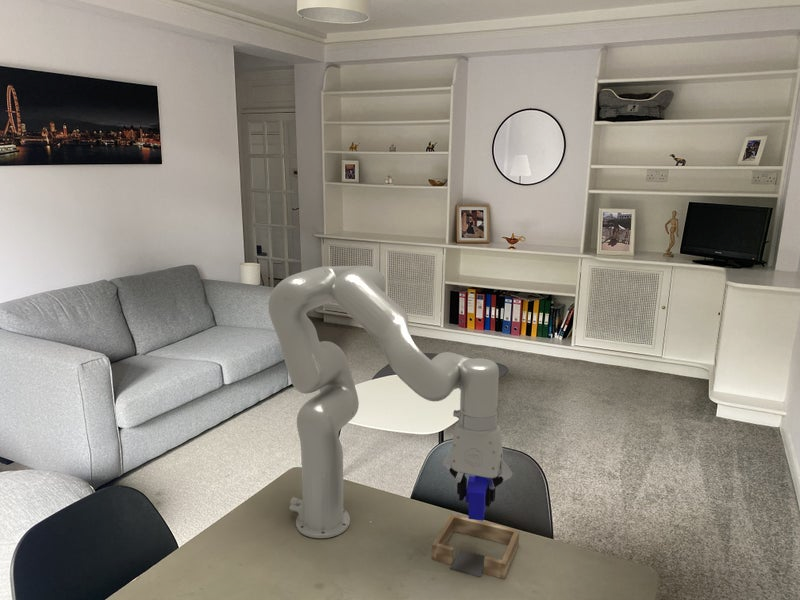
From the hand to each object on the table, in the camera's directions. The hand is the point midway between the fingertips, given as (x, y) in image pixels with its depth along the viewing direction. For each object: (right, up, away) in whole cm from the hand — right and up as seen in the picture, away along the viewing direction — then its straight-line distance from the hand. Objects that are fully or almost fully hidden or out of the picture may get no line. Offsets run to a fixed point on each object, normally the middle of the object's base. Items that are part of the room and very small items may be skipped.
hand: (475, 499), depth 130 cm
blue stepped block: (0, -1, +1) cm, 1 cm away
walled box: (+1, -14, +6) cm, 15 cm away
